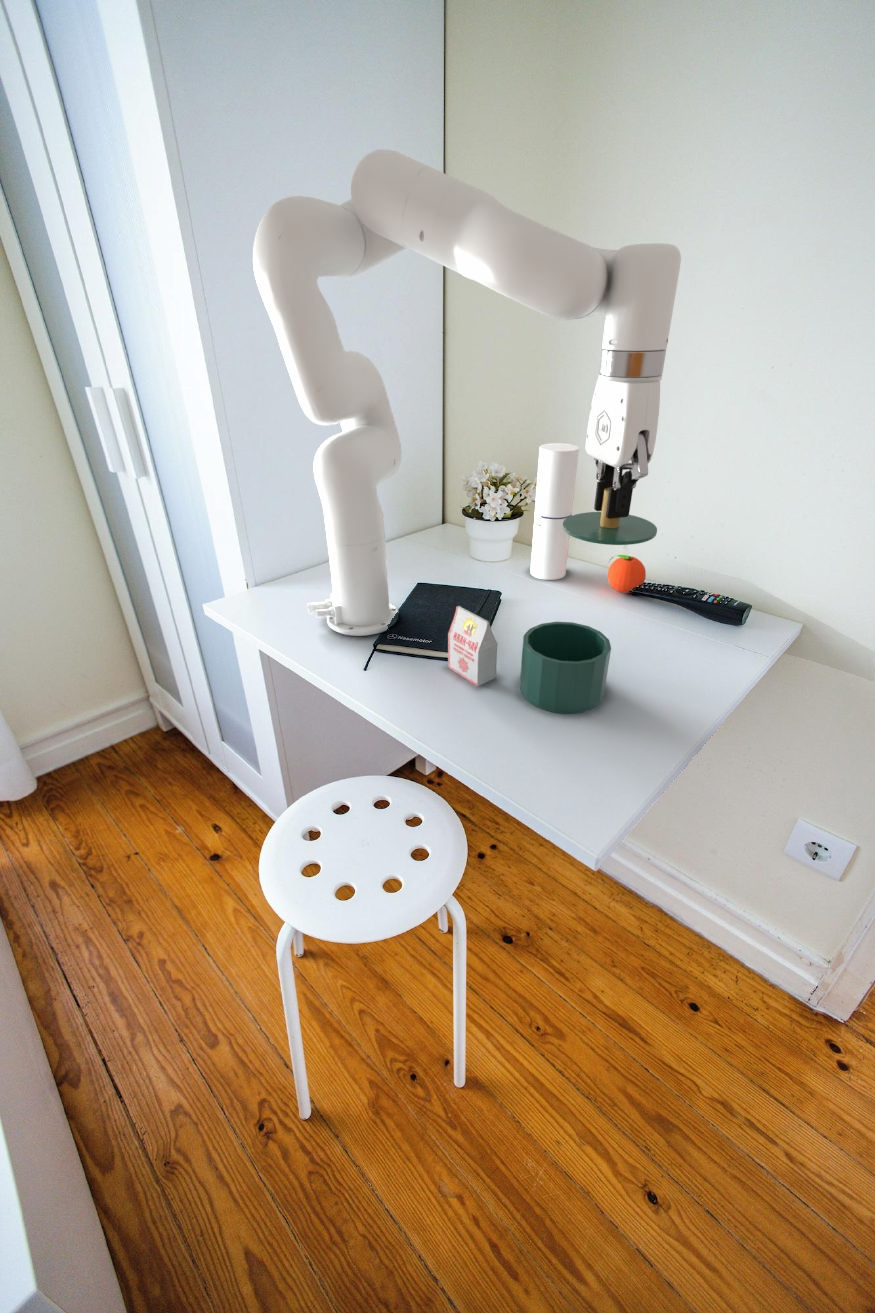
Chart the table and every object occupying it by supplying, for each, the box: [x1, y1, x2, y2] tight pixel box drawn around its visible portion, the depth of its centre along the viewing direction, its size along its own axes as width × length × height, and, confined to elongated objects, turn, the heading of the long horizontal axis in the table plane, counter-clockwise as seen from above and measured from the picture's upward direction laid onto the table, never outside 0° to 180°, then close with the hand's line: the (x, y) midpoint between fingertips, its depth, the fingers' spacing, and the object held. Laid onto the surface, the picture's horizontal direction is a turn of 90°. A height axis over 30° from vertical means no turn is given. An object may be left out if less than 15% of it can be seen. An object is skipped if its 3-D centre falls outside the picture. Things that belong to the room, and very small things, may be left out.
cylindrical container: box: [530, 442, 580, 581], centre depth 117 cm, size 7×7×25 cm
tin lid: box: [562, 487, 658, 546], centre depth 83 cm, size 13×13×6 cm
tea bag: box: [447, 605, 498, 687], centre depth 88 cm, size 4×7×10 cm, turn 38°
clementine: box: [607, 554, 647, 594], centre depth 114 cm, size 8×7×7 cm
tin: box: [519, 621, 612, 715], centre depth 85 cm, size 12×12×8 cm
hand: (611, 512), depth 83 cm, fingers closed on tin lid, 2 cm apart
